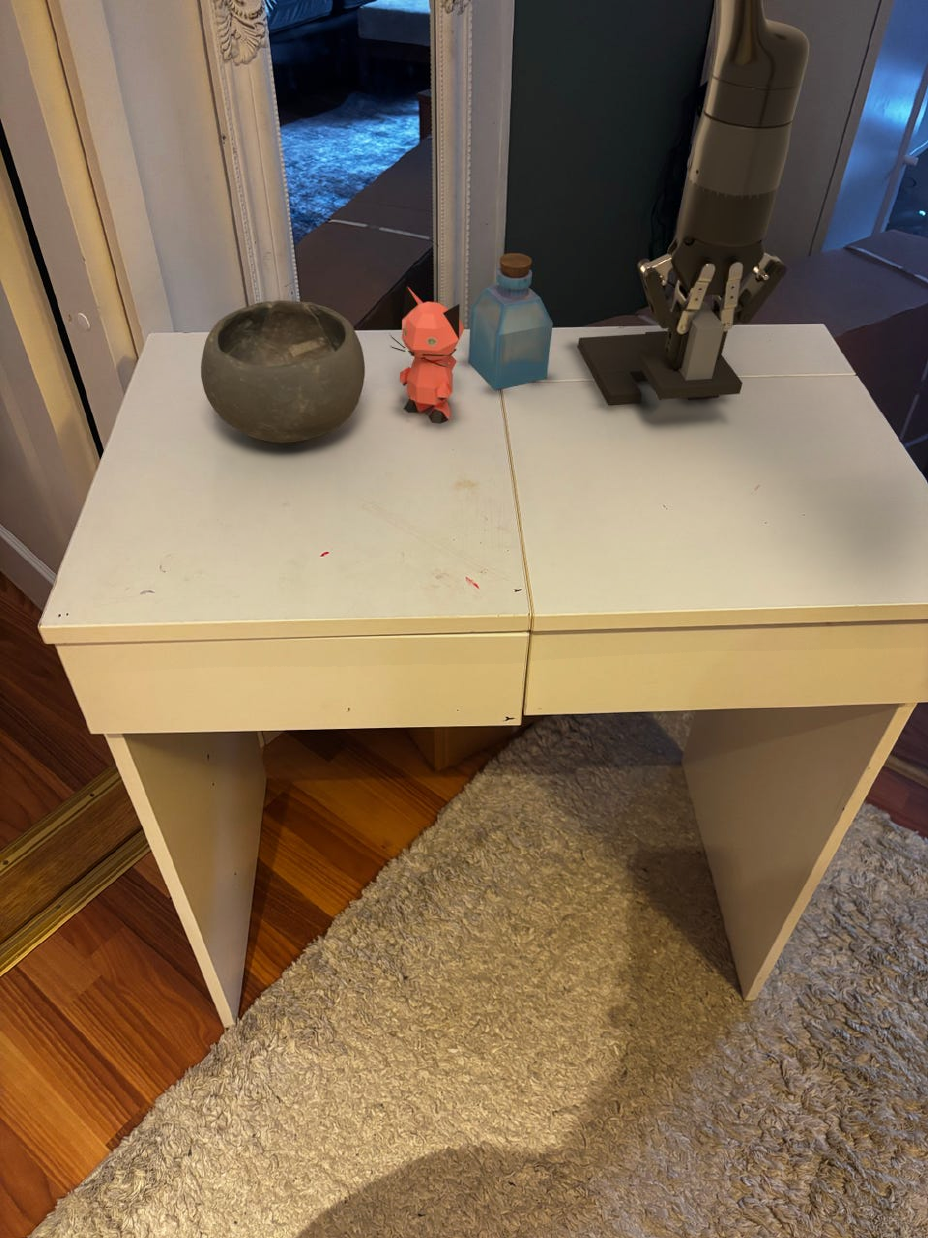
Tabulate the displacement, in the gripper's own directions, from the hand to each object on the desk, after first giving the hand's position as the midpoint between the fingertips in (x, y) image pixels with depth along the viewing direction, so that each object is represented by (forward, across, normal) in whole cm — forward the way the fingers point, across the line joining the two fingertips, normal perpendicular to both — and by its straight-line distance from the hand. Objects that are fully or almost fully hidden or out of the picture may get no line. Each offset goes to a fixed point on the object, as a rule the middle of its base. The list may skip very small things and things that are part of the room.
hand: (690, 362), depth 89 cm
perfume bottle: (+7, -15, +12) cm, 20 cm away
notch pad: (+7, 0, +10) cm, 12 cm away
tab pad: (+2, 0, +2) cm, 2 cm away
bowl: (+7, -38, +4) cm, 39 cm away
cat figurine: (+7, -24, +6) cm, 26 cm away
